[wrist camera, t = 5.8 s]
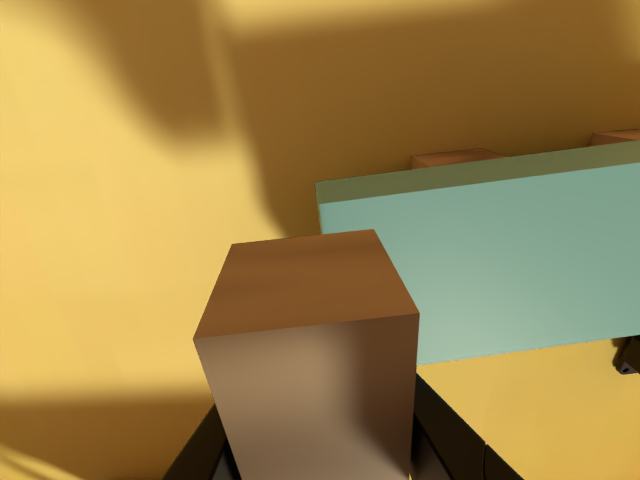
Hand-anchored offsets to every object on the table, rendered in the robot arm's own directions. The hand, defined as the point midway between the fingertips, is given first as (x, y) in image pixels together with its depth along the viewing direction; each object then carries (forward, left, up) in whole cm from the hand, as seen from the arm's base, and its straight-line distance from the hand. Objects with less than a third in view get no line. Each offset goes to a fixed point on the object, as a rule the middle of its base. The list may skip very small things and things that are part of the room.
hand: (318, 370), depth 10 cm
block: (0, 0, -1) cm, 1 cm away
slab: (-10, 0, -7) cm, 12 cm away
